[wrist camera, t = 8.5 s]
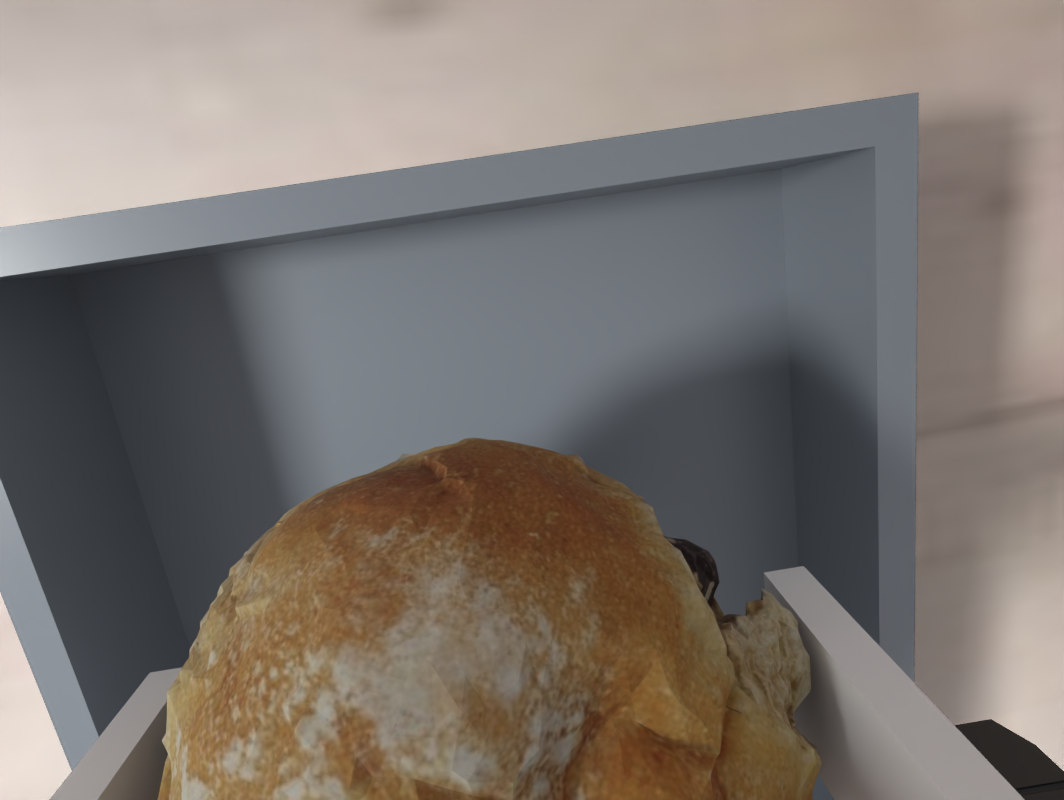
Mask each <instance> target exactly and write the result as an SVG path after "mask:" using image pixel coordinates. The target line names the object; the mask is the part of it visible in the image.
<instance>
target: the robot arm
mask: <svg viewBox="0 0 1064 800" xmlns="http://www.w3.org/2000/svg"><path fill="white" fill-rule="evenodd" d="M764 586H765V590H766V591H768V592H769V593H771V594H773V596H774V597H775V598H776V599H777V601H778V602H779V603H780V604H781V605H782V606H783V607H784V608H786V609H788V610H790V611H791V612H792V614H793V615H794V617H795V618H796V620H797V621H798V631H799V634H800V637H801V640H802V643H803V646H804V648H805V650H806V651H807V653H808V654H809V656H810V670H811V691H810V692H809V694H808V695H807V696H806V697H805V698H804V700H803V701H802V702H801V703H800V705H799V706H798V708H797V709H796V711H795V712H794V714H793V718H794V720H795V722H796V724H795V727H796V729H797V730H798V732H799V733H800V734H801V735H802V736H803V737H805V738H806V739H807V740H808V741H809V742H810V743H812V744H813V745H814V746H816V747H817V749H816V752H817V753H818V754H819V756H820V759H821V762H822V764H821V767H820V770H819V773H818V774H819V776H820V778H821V779H822V781H823V783H824V784H825V786H826V788H827V789H828V791H829V793H830V794H831V796H832V798H833V799H834V800H1064V771H1063V770H1061V769H1060V768H1059V767H1058V766H1057V765H1056V764H1055V763H1054V762H1053V761H1052V760H1051V759H1050V758H1049V757H1048V756H1047V755H1045V754H1044V753H1043V752H1042V751H1041V750H1040V749H1039V748H1038V747H1037V746H1036V745H1034V744H1033V743H1031V742H1029V741H1027V740H1026V739H1024V738H1022V737H1021V736H1019V735H1017V734H1015V733H1014V732H1012V731H1010V730H1009V729H1007V728H1005V727H1003V726H1002V725H1000V724H998V723H996V722H995V721H993V720H991V719H990V720H984V721H978V722H972V723H966V724H960V725H954V724H953V723H952V722H951V721H950V720H949V719H948V718H947V717H946V716H945V715H944V714H943V713H942V712H941V711H940V710H939V709H938V708H937V706H936V705H935V704H934V703H933V702H932V701H931V700H930V699H929V698H928V697H927V696H926V695H925V694H924V693H923V692H922V691H921V690H920V688H919V687H918V686H917V685H916V684H915V683H914V682H913V681H912V680H911V679H910V678H909V677H908V676H907V675H906V674H905V673H904V672H903V671H902V669H901V668H900V667H899V666H898V665H897V664H896V663H895V662H894V661H893V660H892V659H891V658H890V657H889V656H888V655H887V654H886V653H885V651H884V650H883V649H882V648H881V647H880V646H879V645H878V644H877V643H876V642H875V641H874V640H873V639H872V638H871V637H870V636H869V635H868V634H867V632H866V631H865V630H864V629H863V628H862V627H861V626H860V625H859V624H858V623H857V622H856V621H855V620H854V619H853V618H852V617H851V616H850V614H849V613H848V612H847V611H846V610H845V609H844V608H843V607H842V606H841V605H840V604H839V603H838V602H837V601H836V600H835V599H834V598H833V596H832V595H831V594H830V593H829V592H828V591H827V590H826V589H825V588H824V587H823V586H822V585H821V584H820V583H819V582H818V581H817V580H816V579H815V577H814V576H813V575H812V574H811V573H810V572H809V571H808V570H807V569H806V568H805V567H804V566H801V567H795V568H788V569H782V570H776V571H770V572H764ZM181 668H182V667H181ZM181 668H175V669H169V670H163V671H157V672H151V673H149V674H148V676H147V677H146V678H145V680H144V681H143V682H142V683H141V685H140V686H139V687H138V688H137V690H136V691H135V692H134V693H133V695H132V696H131V697H130V699H129V700H128V701H127V702H126V704H125V705H124V706H123V707H122V709H121V710H120V711H119V712H118V714H117V715H116V716H115V718H114V719H113V720H112V721H111V723H110V724H109V725H108V726H107V728H106V729H105V730H104V731H103V733H102V734H101V735H100V737H99V738H98V739H97V740H96V742H95V743H94V744H93V745H92V747H91V748H90V749H89V750H88V752H87V753H86V754H85V756H84V757H83V758H82V759H81V761H80V762H79V763H78V764H77V766H76V767H75V768H74V769H73V771H72V772H71V773H70V775H69V776H68V777H67V778H66V780H65V781H64V782H63V783H62V785H61V786H60V787H59V788H58V790H57V791H56V792H55V794H54V795H53V796H52V797H51V799H50V800H158V796H159V791H160V786H161V781H162V776H163V771H164V766H165V761H166V759H167V756H168V753H167V751H166V748H165V746H164V744H163V742H162V739H163V737H164V736H165V734H166V723H167V691H168V690H169V688H170V687H171V685H172V684H173V683H174V681H175V680H176V678H177V676H178V674H179V672H180V670H181Z"/></svg>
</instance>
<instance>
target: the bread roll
mask: <svg viewBox="0 0 1064 800" xmlns="http://www.w3.org/2000/svg"><path fill="white" fill-rule="evenodd" d="M719 582H720V581H719V576H718V571H717V566H716V562H715V560H714V558H713V557H712V555H711V554H710V552H709V551H707V550H705V549H703V548H701V547H699V546H697V545H695V544H694V543H692V542H690V541H688V540H685V539H677V538H669V537H665V536H664V535H663V533H662V530H661V528H660V526H659V523H658V521H657V519H656V516H655V513H654V510H653V507H652V506H650V505H648V504H646V502H645V501H644V499H643V497H641V496H638V495H636V494H635V493H634V492H633V491H632V490H630V489H629V488H628V487H627V486H625V485H624V484H623V483H621V482H619V481H617V480H614V479H612V478H610V477H608V476H606V475H604V474H602V473H600V472H598V471H596V470H594V469H592V468H590V467H588V466H587V465H586V464H585V463H584V461H583V460H582V458H581V457H580V456H578V455H577V454H573V455H567V456H566V455H563V454H560V453H557V452H554V451H551V450H547V449H543V448H539V447H534V446H530V445H525V444H520V443H515V442H510V441H505V440H489V439H482V438H475V437H474V438H465V439H463V440H461V441H459V442H457V443H455V444H450V445H444V446H437V447H434V448H431V449H429V450H424V451H422V452H420V453H417V454H402V455H401V456H400V457H399V459H398V460H397V461H394V462H392V463H390V464H388V465H386V466H384V467H381V468H379V469H377V470H375V471H373V472H371V473H368V474H365V475H361V476H358V477H354V478H351V479H349V480H346V481H344V482H341V483H339V484H337V485H334V486H332V487H329V488H327V489H325V490H323V491H321V492H319V493H317V494H315V495H314V496H312V497H310V498H308V499H306V500H305V501H303V502H301V503H300V504H298V505H297V506H295V507H294V508H292V509H290V510H289V511H288V512H286V513H285V514H284V515H283V516H282V517H281V519H280V520H279V521H278V522H277V523H276V524H275V525H274V526H273V527H272V528H270V529H269V530H268V531H266V532H265V533H264V534H263V535H262V536H261V537H260V538H259V539H258V540H257V541H256V542H255V543H254V544H253V545H252V546H251V547H250V549H249V550H248V551H246V552H245V553H244V555H243V558H241V559H240V560H239V561H238V562H237V563H236V564H235V565H233V566H232V567H231V568H230V570H229V576H228V578H227V579H226V580H225V581H224V582H223V583H222V584H221V585H220V588H219V590H218V593H217V597H216V599H215V600H214V601H213V602H212V603H211V605H210V608H209V610H208V612H207V613H206V615H205V616H204V617H203V619H202V620H201V621H200V631H199V633H198V636H197V638H196V639H195V641H194V643H193V644H192V646H191V648H190V651H189V658H188V659H187V661H186V662H185V664H184V665H183V667H182V668H181V670H180V672H179V674H178V676H177V678H176V680H175V681H174V683H173V684H172V685H171V687H170V688H169V690H168V691H167V723H166V734H165V736H164V737H163V739H162V742H163V744H164V746H165V748H166V751H167V753H168V756H167V759H166V761H165V766H164V771H163V776H162V781H161V786H160V791H159V796H158V800H813V788H814V785H815V782H816V779H817V776H818V773H819V770H820V767H821V764H822V762H821V759H820V756H819V754H818V753H817V752H816V749H817V747H816V746H814V745H813V744H812V743H810V742H809V741H808V740H807V739H806V738H805V737H803V736H802V735H801V734H800V733H799V732H798V730H797V729H796V727H795V724H796V722H795V720H794V718H793V714H794V712H795V711H796V709H797V708H798V706H799V705H800V703H801V702H802V701H803V700H804V698H805V697H806V696H807V695H808V694H809V692H810V691H811V670H810V656H809V654H808V653H807V651H806V650H805V648H804V646H803V643H802V640H801V637H800V634H799V631H798V621H797V620H796V618H795V617H794V615H793V614H792V612H791V611H790V610H788V609H786V608H784V607H783V606H782V605H781V604H780V603H779V602H778V601H777V599H776V598H775V597H774V596H773V594H771V593H769V592H768V591H766V590H764V589H762V588H761V599H760V600H755V601H750V602H746V615H737V614H727V615H725V614H724V613H723V611H722V610H721V608H720V607H719V605H718V603H717V601H716V599H715V597H714V594H715V591H716V589H717V587H718V585H719Z"/></svg>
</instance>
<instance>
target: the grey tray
mask: <svg viewBox="0 0 1064 800" xmlns="http://www.w3.org/2000/svg"><path fill="white" fill-rule="evenodd" d="M917 223H918V93H912V94H905V95H899V96H892V97H885V98H878V99H871V100H865V101H858V102H851V103H844V104H838V105H831V106H824V107H817V108H810V109H804V110H797V111H790V112H783V113H776V114H770V115H763V116H756V117H749V118H742V119H736V120H729V121H722V122H715V123H708V124H702V125H695V126H688V127H681V128H674V129H668V130H661V131H654V132H647V133H641V134H634V135H627V136H620V137H613V138H607V139H600V140H593V141H586V142H579V143H573V144H566V145H559V146H552V147H545V148H539V149H532V150H525V151H518V152H511V153H505V154H498V155H491V156H484V157H477V158H471V159H464V160H457V161H450V162H444V163H437V164H430V165H423V166H416V167H410V168H403V169H396V170H389V171H382V172H376V173H369V174H362V175H355V176H348V177H342V178H335V179H328V180H321V181H314V182H308V183H301V184H294V185H287V186H280V187H274V188H267V189H260V190H253V191H247V192H240V193H233V194H226V195H219V196H213V197H206V198H199V199H192V200H185V201H179V202H172V203H165V204H158V205H151V206H145V207H138V208H131V209H124V210H117V211H111V212H104V213H97V214H90V215H83V216H77V217H70V218H63V219H56V220H49V221H43V222H36V223H29V224H22V225H16V226H9V227H2V228H0V592H1V595H2V597H3V600H4V602H5V605H6V607H7V610H8V612H9V615H10V617H11V620H12V622H13V625H14V627H15V630H16V632H17V635H18V637H19V640H20V642H21V645H22V647H23V650H24V652H25V655H26V657H27V660H28V662H29V665H30V667H31V670H32V672H33V675H34V677H35V680H36V682H37V685H38V687H39V690H40V692H41V695H42V697H43V700H44V702H45V705H46V707H47V710H48V712H49V715H50V717H51V720H52V722H53V725H54V727H55V730H56V732H57V735H58V737H59V740H60V742H61V745H62V747H63V750H64V752H65V755H66V757H67V760H68V762H69V765H70V767H71V770H72V771H73V769H74V768H75V767H76V766H77V764H78V763H79V762H80V761H81V759H82V758H83V757H84V756H85V754H86V753H87V752H88V750H89V749H90V748H91V747H92V745H93V744H94V743H95V742H96V740H97V739H98V738H99V737H100V735H101V734H102V733H103V731H104V730H105V729H106V728H107V726H108V725H109V724H110V723H111V721H112V720H113V719H114V718H115V716H116V715H117V714H118V712H119V711H120V710H121V709H122V707H123V706H124V705H125V704H126V702H127V701H128V700H129V699H130V697H131V696H132V695H133V693H134V692H135V691H136V690H137V688H138V687H139V686H140V685H141V683H142V682H143V681H144V680H145V678H146V677H147V676H148V674H149V673H151V672H157V671H163V670H169V669H175V668H181V667H183V665H184V664H185V662H186V661H187V659H188V658H189V651H190V648H191V646H192V644H193V643H194V641H195V639H196V638H197V636H198V633H199V631H200V621H201V620H202V619H203V617H204V616H205V615H206V613H207V612H208V610H209V608H210V605H211V603H212V602H213V601H214V600H215V599H216V597H217V593H218V590H219V588H220V585H221V584H222V583H223V582H224V581H225V580H226V579H227V578H228V576H229V570H230V568H231V567H232V566H233V565H235V564H236V563H237V562H238V561H239V560H240V559H241V558H243V555H244V553H245V552H246V551H248V550H249V549H250V547H251V546H252V545H253V544H254V543H255V542H256V541H257V540H258V539H259V538H260V537H261V536H262V535H263V534H264V533H265V532H266V531H268V530H269V529H270V528H272V527H273V526H274V525H275V524H276V523H277V522H278V521H279V520H280V519H281V517H282V516H283V515H284V514H285V513H286V512H288V511H289V510H290V509H292V508H294V507H295V506H297V505H298V504H300V503H301V502H303V501H305V500H306V499H308V498H310V497H312V496H314V495H315V494H317V493H319V492H321V491H323V490H325V489H327V488H329V487H332V486H334V485H337V484H339V483H341V482H344V481H346V480H349V479H351V478H354V477H358V476H361V475H365V474H368V473H371V472H373V471H375V470H377V469H379V468H381V467H384V466H386V465H388V464H390V463H392V462H394V461H397V460H398V459H399V457H400V456H401V455H402V454H417V453H420V452H422V451H424V450H429V449H431V448H434V447H437V446H444V445H450V444H455V443H457V442H459V441H461V440H463V439H465V438H474V437H475V438H482V439H489V440H505V441H510V442H515V443H520V444H525V445H530V446H534V447H539V448H543V449H547V450H551V451H554V452H557V453H560V454H563V455H566V456H567V455H573V454H577V455H578V456H580V457H581V458H582V460H583V461H584V463H585V464H586V465H587V466H588V467H590V468H592V469H594V470H596V471H598V472H600V473H602V474H604V475H606V476H608V477H610V478H612V479H614V480H617V481H619V482H621V483H623V484H624V485H625V486H627V487H628V488H629V489H630V490H632V491H633V492H634V493H635V494H636V495H638V496H641V497H643V499H644V501H645V502H646V504H648V505H650V506H652V507H653V510H654V513H655V516H656V519H657V521H658V523H659V526H660V528H661V530H662V533H663V535H664V536H665V537H669V538H677V539H685V540H688V541H690V542H692V543H694V544H695V545H697V546H699V547H701V548H703V549H705V550H707V551H709V552H710V554H711V555H712V557H713V558H714V560H715V562H716V566H717V571H718V576H719V581H720V582H719V585H718V587H717V589H716V591H715V594H714V597H715V599H716V601H717V603H718V605H719V607H720V608H721V610H722V611H723V613H724V614H725V615H727V614H737V615H746V602H750V601H755V600H760V599H761V588H762V589H764V590H765V586H764V572H770V571H776V570H782V569H788V568H795V567H801V566H804V567H805V568H806V569H807V570H808V571H809V572H810V573H811V574H812V575H813V576H814V577H815V579H816V580H817V581H818V582H819V583H820V584H821V585H822V586H823V587H824V588H825V589H826V590H827V591H828V592H829V593H830V594H831V595H832V596H833V598H834V599H835V600H836V601H837V602H838V603H839V604H840V605H841V606H842V607H843V608H844V609H845V610H846V611H847V612H848V613H849V614H850V616H851V617H852V618H853V619H854V620H855V621H856V622H857V623H858V624H859V625H860V626H861V627H862V628H863V629H864V630H865V631H866V632H867V634H868V635H869V636H870V637H871V638H872V639H873V640H874V641H875V642H876V643H877V644H878V645H879V646H880V647H881V648H882V649H883V650H884V651H885V653H886V654H887V655H888V656H889V657H890V658H891V659H892V660H893V661H894V662H895V663H896V664H897V665H898V666H899V667H900V668H901V669H902V671H903V672H904V673H905V674H906V675H907V676H908V677H909V678H910V679H911V680H912V681H913V682H914V639H915V500H916V361H917ZM813 800H834V799H833V798H832V796H831V794H830V793H829V791H828V789H827V788H826V786H825V784H824V783H823V781H822V779H821V778H820V776H819V774H818V776H817V779H816V782H815V785H814V788H813Z"/></svg>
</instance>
